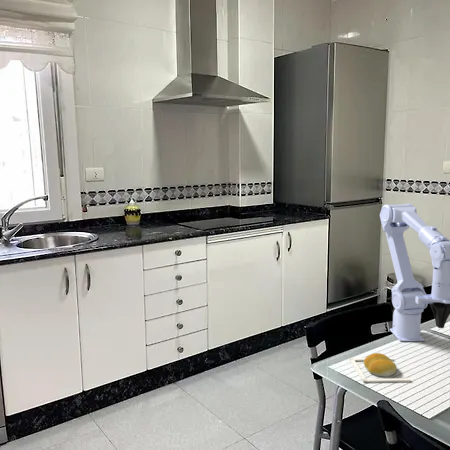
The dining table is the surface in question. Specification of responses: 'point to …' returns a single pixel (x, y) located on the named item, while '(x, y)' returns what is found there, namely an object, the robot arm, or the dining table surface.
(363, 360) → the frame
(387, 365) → the bread roll
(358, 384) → the dining table surface
